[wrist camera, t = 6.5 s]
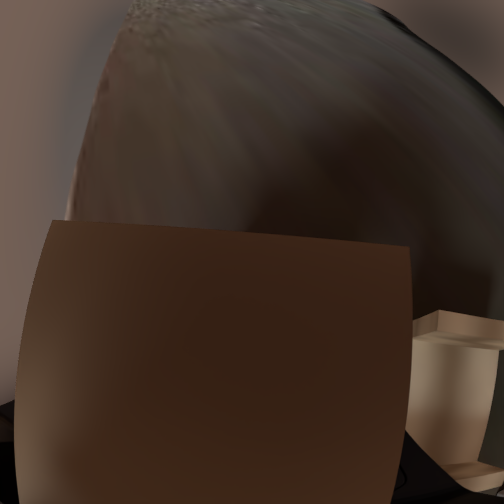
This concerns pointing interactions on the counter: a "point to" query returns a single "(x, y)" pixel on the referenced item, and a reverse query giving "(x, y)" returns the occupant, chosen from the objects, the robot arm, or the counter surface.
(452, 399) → the tunnel deck
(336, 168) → the counter surface
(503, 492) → the coffee box
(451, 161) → the counter surface
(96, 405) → the walnut block
